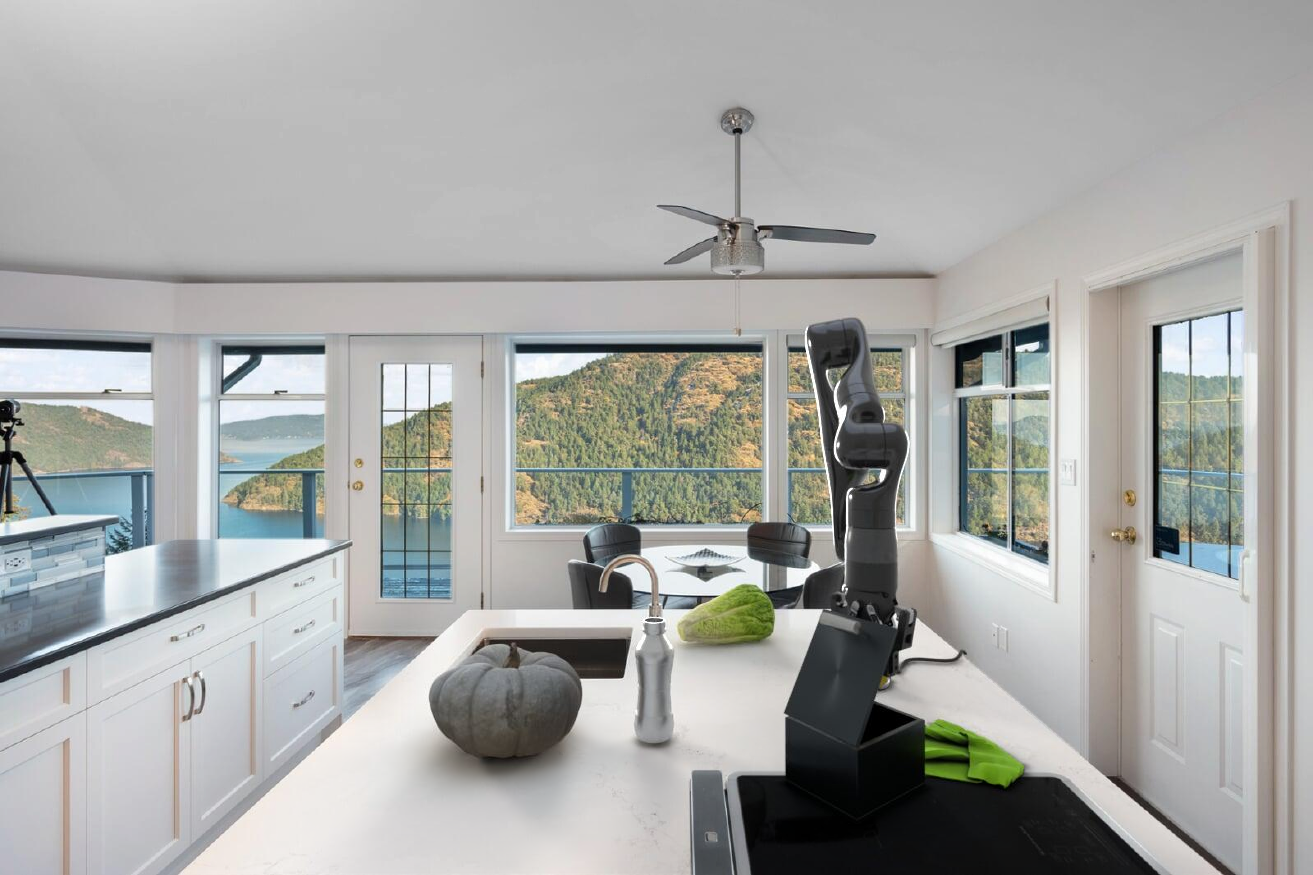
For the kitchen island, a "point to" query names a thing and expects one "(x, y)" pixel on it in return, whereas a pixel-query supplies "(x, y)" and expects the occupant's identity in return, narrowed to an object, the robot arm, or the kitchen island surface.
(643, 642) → the silver bottle
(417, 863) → the kitchen island surface
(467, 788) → the kitchen island surface
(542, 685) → the gourd
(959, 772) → the cloth
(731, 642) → the lettuce
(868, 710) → the caddy lid
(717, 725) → the kitchen island surface
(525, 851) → the kitchen island surface
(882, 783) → the box
